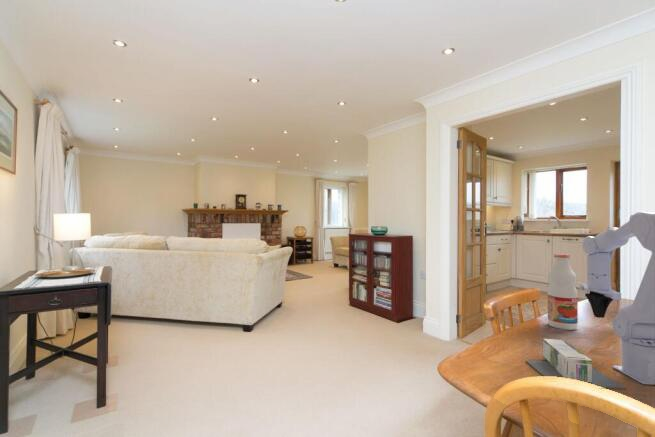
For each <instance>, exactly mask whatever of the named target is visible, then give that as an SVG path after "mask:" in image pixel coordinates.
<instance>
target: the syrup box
mask: <svg viewBox="0 0 655 437" xmlns="http://www.w3.org/2000/svg"><path fill="white" fill-rule="evenodd" d="M542 358H543V359H544V361H547V362H548V363H549V364H550V365H552V366H553V367H554V368H555V369H556V370H557V371H558V372H559V373H560V374H561V375H562V376H563V377H565V378H571V379H577V380H580V381H584V382H592V367H593V359H591V358H589V357H588V356H587V355H585V354H584V353H582V352H581V351H579V350H578V349H577V348H576V347H574V346H573V345H571V344H570V343H569V342H567V341H566V340H564V339H555V338H554V339H553V338H542Z"/></svg>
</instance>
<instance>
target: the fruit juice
mask: <svg viewBox="0 0 655 437" xmlns="http://www.w3.org/2000/svg"><path fill="white" fill-rule="evenodd" d="M553 255H554V256H553V257H554V263H553V265H552V268H551V269H550V271H548V274H547V278H548V283H549V285H548V286H547V324H548V325H549V326H550V327H553V328H555V329H560V330H566V331H567V330H568V331H574V330H578V324H579V323H578V320H579V318H578V305H579V304H578V303H579V302H578V289H577V288H576V284H577V281H578V278H577V277H578V276H577V274H576V273H575V271H574V270H573V269H572V266H571V264H570V258H571V255H570V254H567V253H566V254H565V253H554V254H553Z"/></svg>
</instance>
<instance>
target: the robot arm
mask: <svg viewBox="0 0 655 437" xmlns="http://www.w3.org/2000/svg"><path fill="white" fill-rule="evenodd" d="M633 237H636V239H637V241H638V242H639V243H640V244H641V246H642V248H644V249H645V250H648V251H650V252H651V256H650V258H649V260H648V263H647V266H646V268H645V270H644V274H643V276H642V279H641V282H640V285H639V287H638V289H637V292H636V295H635V298H634V300H633V303H631V304H630V305H627V306H624V307H623V308H622V307H621V308H620V310H619V311H618V313H617V314H616V315H615V316H614V318H612V329H613V331H614V333H615V334H616V336H617V337H618V338H619V339H621V365H613V367H612V368H613V369H615V370H617V371H618V372H620V373H622V374H623V375H626V376H627V377H630V378H631V379H633V380H635V381H636V382H638V383H640V384H643V385H648V386H649V385H653V386H654V385H655V212H654V211H653V212H647V211H637V212H635V213H634V214H631V215H630V217H629V219H628V221H627V222H626V223H624V224H622V225H620V226H619V227H615V226H608V227H607V228H606V229H605V231H602V232H599V233H598V234H597V235H595V236H590V235H587V236H586V237H585V238H584V239H583V241H582V249H583V252H584V253H585V254H586V264H587V265H586V268H587V269H586V270H587V271H586V272H587V273H586V274H587V275H586V276H587V278H586V279H587V281H586V283H579V290H582V291H586V292H587V293H585V294H584V296H585V298H586V299H587V300H588V303H589V304H590V308H591V310H592V313H593V316H594V318H605V315H606V313H607V310H608V308H609V306H610V304H611V303H612V301H613V300H619V301H620V300H622V293H621V292H618V291H616V290H614V289H612V284H611V283H612V274H611V273H612V271H611V270H612V267H611V261H613V258H614V254H615V251H616V249H618V248H621V247H623V246H625V245H626V244H628V242H629V241H630V239H631V238H633Z"/></svg>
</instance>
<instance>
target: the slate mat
mask: <svg viewBox="0 0 655 437" xmlns="http://www.w3.org/2000/svg"><path fill="white" fill-rule="evenodd" d="M525 363H526V364H528V365H530V367H532V368H533V369H534V370H535V371H536V372H538V373H539V374H540V375H542V376H543V377H544V376H557V377H563V376H562V375H561V374H560V373H559V372H558V371H557V370H556V369H555V368H554V367H553V366H552V365H550V364H549V363H548V362H547V361H546V360H533V359H532V360H527V359H526V360H525ZM588 383H591V384H595V385H597V386H601V387H605V388H604V389H606V388H608V389H609V390H610V389H614V390H626V387H625V385H624V386H623V385H622V384H621V383H619V382H617V381H616V380H614V379H612V378H610V377H609V376H607V375H606V374H604V373H602V371H601V372H600V371H599V370H597V369H596V368H594V367H593V366H592V382H588Z"/></svg>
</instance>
